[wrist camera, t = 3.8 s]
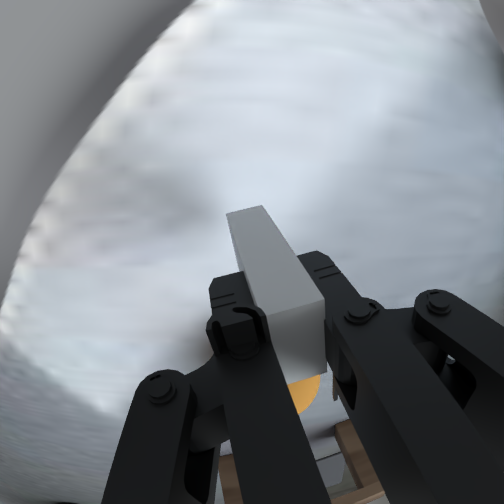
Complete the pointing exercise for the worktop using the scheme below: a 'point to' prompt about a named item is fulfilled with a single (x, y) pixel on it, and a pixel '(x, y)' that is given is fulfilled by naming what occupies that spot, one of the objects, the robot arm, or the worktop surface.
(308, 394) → the ball
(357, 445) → the bridge
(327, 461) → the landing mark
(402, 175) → the worktop surface
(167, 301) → the worktop surface
